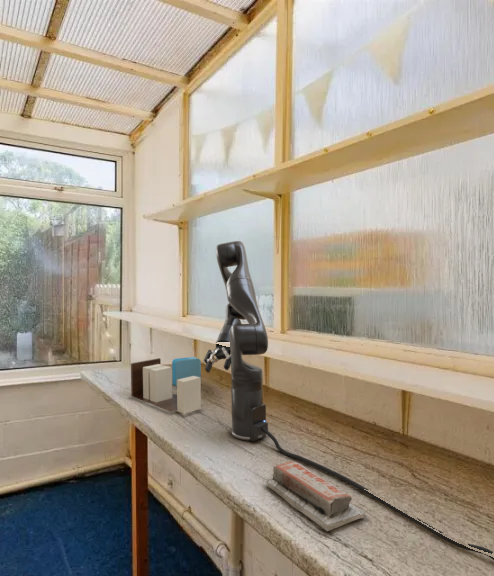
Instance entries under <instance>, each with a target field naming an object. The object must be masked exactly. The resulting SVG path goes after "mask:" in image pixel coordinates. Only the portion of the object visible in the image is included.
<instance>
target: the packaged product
mask: <svg viewBox="0 0 494 576" xmlns="http://www.w3.org/2000/svg"><path fill="white" fill-rule="evenodd" d="M266 486H267V487H268V488H269V489H271V490H272V491H273V492H275V493H276V494H277V495H278V496H280V497H281V498H282V499H283V500H284V501H285V502H287V503H288V504H289V505H290V506H291V507H292V508H293V509H296V510H297V511H299V512H301V513H302V514H303V515H304V516H306V517H307V518H309V519H310V520H311V521H312V522H314V523H315V524H317V525H318V526H319V527H321V528H322V529H323V530H324V531H326V532H329V531H332V530H335V529H337V528H339V527H342V526H344V525H347V524H349V523H352V522H354V521H357V520H359V519H364V518H365V511H364V510H362V509H360V508H358V507H357V506H356V505H354V504H352V503H351V502H352V500H353V497H352V495H350V494H348V493H347V492H345V491H344V490H342V489H340V488H339V487H337V486H335V485H334V484H332V483H331V482H330V481H328V480H326V479H324V478H323V477H321V476H319V475H318V474H316V473H315V472H314V471H312V470H310V469H308V468H307V467H305V466H304V465H302V464H300V463H299V462H297V461H293V460H292V461H287V462H284V463H280V464H276V465H274V466H273V469H272V478H268V479H267V480H266Z"/></svg>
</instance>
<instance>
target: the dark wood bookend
mask: <svg viewBox="0 0 494 576" xmlns="http://www.w3.org/2000/svg"><path fill="white" fill-rule="evenodd" d="M161 360H162V359H161V358H160V357H159V358H151V359H146V360H141V361H136V362H131V363H130V390H131V391H130V392H131V395H130V396H131V397H133V398H135V399H138V400H140V401H143V402H145V403H148V404H151V405H153V406H155V407H158V408H160V409H163V410H165V411H168V412H174V411H177V394H175V393H172V398H171V399H167V400H164V401H160V402H156V403H155V402H153V401H150V400H148V399H145V398H143V367H146V366H151V365H157V364H161V365H162V363H161Z"/></svg>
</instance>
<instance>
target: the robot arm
mask: <svg viewBox="0 0 494 576" xmlns="http://www.w3.org/2000/svg"><path fill="white" fill-rule="evenodd" d="M215 257H216V261H217V265H218V268H219V272H220V275H221V278H222V281H223V284H224V288H225V292H226V298H227V301H228V302H227V305H226V306H225V318H224V319H225V320H224V323H223V325H222V328H221V330H220V332H219V334H218V336H217V339H216V342H215V348H214V349H213V350H211V349H208V350H207V352H206V354H205V355H204V358H203V362H204V363H205V364H206V365H205V367H204V370H205V372H206V373H211V370H212V367H213V365H214V364H215V363H217V362H218V361H220V360H225V361H224V364H223V369H224V370H225V371H229V369H230V373H231V374H230V383H231V385H230V386H231V388H230V389H231V391H230V392H231V394H230V396H231V398H230V399H231V436H233V437H234V438H235V439H238V440H242V441H248V442H253V443H254V442H256V441H259V440H260V439H263V438H265V437H267V436H268V437H269V438H270V439H271V441H273V443H274V446H275V447H276V449H277V450H278V452H280V453H281V454H283V455H285V456H287V457H288V458H292V459H295V460H298V461H301V462H303V463H305V464H308V465H310V466H312V467H314V468H316V469H319V470H320V471H323V472H325V473H327V474H330V475H331V476H333V477H335V478H337V479H339V480H341V481H342V482H345V483H347V484H348V485H351V486H352V487H354V488H356V489H358V490H359V491H361V492H362V493H364V494H366V495H368V496H369V497H371V498H372V499H374V500H376V501H378V502H379V503H381V504H382V505H384V506H386V507H387V508H390V509H391V510H393V511H394V512H396V513H398V514H399V515H401V516H403V517H404V518H406V519H408V520H410V522H411V521H412V522H413V523H415V524H417V525H418V526H420V527H422V528H423V529H425V530H427V531H428V532H430V533H432V534H434V535H435V536H437V537H439V538H441V539H442V540H444V541H445V542H448V543H450V544H452V545H453V546H456V547H458V548H460V549H463V550H466V551H468V552H469V551H470V552H473V553H477V554H482V555H485V556H487V557H489V558H490V559H491V560H493V561H494V558H493V557H491V556H488V555H486V554H483V553H481V552H478V551H475V550H473V549H470V548H468V547H466V546H464V545H462V544H459V543H457V542H455V541H453V540H451V539H449V538H447V537H445V536H443V535H442V534H440V533H444V532H443V531H441V530H440V529H438V528H436V527H434V526H433V525H431V526H430V524H429V523H428V522H425V521H424V522H423V520H422V519H420V518H419V517H417V519H418V520H419V521H421V520H422V522H423V523H425V524H427V525H428V524H429V527H432V528H433V527H434V528H433V529H435V528H436V530H437V529H438V531H439V532H440V533H438V532H436V531H434V530H433V529H431V528H429V527H427V526H426V525H424V524H422V523H421V522H419V521H417V520H415V519H414V518H412V517H410V516H408V515H407V514H405V513H403V512H402V511H400V510H398V509H396V508H395V507H393V506H391V505H390V504H388V503H386V502H385V501H383V500H381V499H380V498H378V497H376V496H374V495H373V494H371V493H369V492H368V491H366V490H369V488H367V487H365V486H363V485H361V484H360V483H358V482H356V481H354V480H353V479H350V478H348V477H347V476H344V475H343V474H341V473H339V472H337V471H335V470H333V469H330V468H329V467H327V466H324V465H322V464H320V463H318V462H315V461H313V460H310V459H308V458H305V457H304V456H301V455H300V454H299V455H298V454H296V453H291V452H289V451H287V450H285V449H283V447H281V445H280V443H279V441H278V440H277V438H276V437H275V436H274V435H273V433H271V432H270V431H269V423H268V422H267V408H266V407H267V404H266V403H264V389H263V387H264V386H263V385H264V384H263V383H264V382H263V381H264V380H263V378H264V377H263V376H264V373H263V372H264V371H263V369H262V368H261V367H260V366H259V365H255V364H252V363H249V362H247V361H246V360H244V359H243V356H259V355H264V354H266V353H267V351H268V349H269V337H268V333H267V329H266V326H265V323H264V321H263V318H262V315H261V312H260V309H259V305H258V301H257V295H256V291H255V287H254V283H253V279H252V277H251V273H250V269H249V262H248V257H247V251H246V247H245V245H244V243H243V242H242V241H241V240H234V241H233V240H232V241H228V242H223V243H219V244H217V245H216V247H215ZM230 267H235V269H234V270H233V272H231V271H230V270H229V268H230ZM244 320H246V322H247V323H242V321H244ZM217 342H230V347H226V346H222V345H219V344H216V343H217ZM364 489H366V490H364ZM468 545H469V546H471V547H474V548H477V549H479V550H483V551H484V552H488V553H491V554H492V553H493V552H494V551H492V550H491V549H489V548H486V547H484V546H481V545H476V544H473V543H468Z"/></svg>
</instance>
